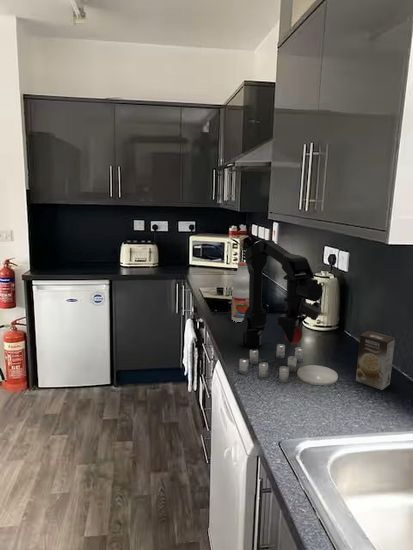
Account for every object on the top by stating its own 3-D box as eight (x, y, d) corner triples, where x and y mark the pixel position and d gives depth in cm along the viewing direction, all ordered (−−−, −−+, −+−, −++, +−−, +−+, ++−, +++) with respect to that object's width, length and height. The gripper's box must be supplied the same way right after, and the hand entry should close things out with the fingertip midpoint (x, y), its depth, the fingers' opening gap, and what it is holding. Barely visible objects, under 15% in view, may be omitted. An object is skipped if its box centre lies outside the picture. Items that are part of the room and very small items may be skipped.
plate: (292, 380, 137) (292, 376, 137) (302, 365, 149) (303, 362, 148) (333, 388, 131) (333, 385, 131) (340, 373, 143) (340, 369, 143)
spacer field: (237, 373, 142) (238, 360, 141) (260, 351, 161) (260, 340, 160) (286, 383, 135) (287, 370, 134) (303, 359, 154) (304, 348, 153)
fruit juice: (244, 316, 206) (245, 260, 200) (255, 321, 198) (256, 263, 192) (227, 319, 202) (228, 261, 196) (238, 324, 194) (239, 264, 188)
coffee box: (354, 381, 137) (358, 334, 134) (363, 375, 141) (367, 330, 138) (382, 390, 131) (387, 341, 127) (390, 384, 135) (395, 337, 132)
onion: (289, 340, 146) (290, 318, 145) (304, 344, 142) (305, 321, 141) (281, 345, 142) (281, 322, 140) (296, 348, 138) (297, 325, 137)
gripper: (312, 303, 127) (309, 352, 130) (326, 291, 143) (323, 335, 146) (277, 299, 132) (275, 346, 135) (294, 288, 148) (292, 330, 151)
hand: (293, 339), depth 142 cm, fingers closed on onion, 6 cm apart
